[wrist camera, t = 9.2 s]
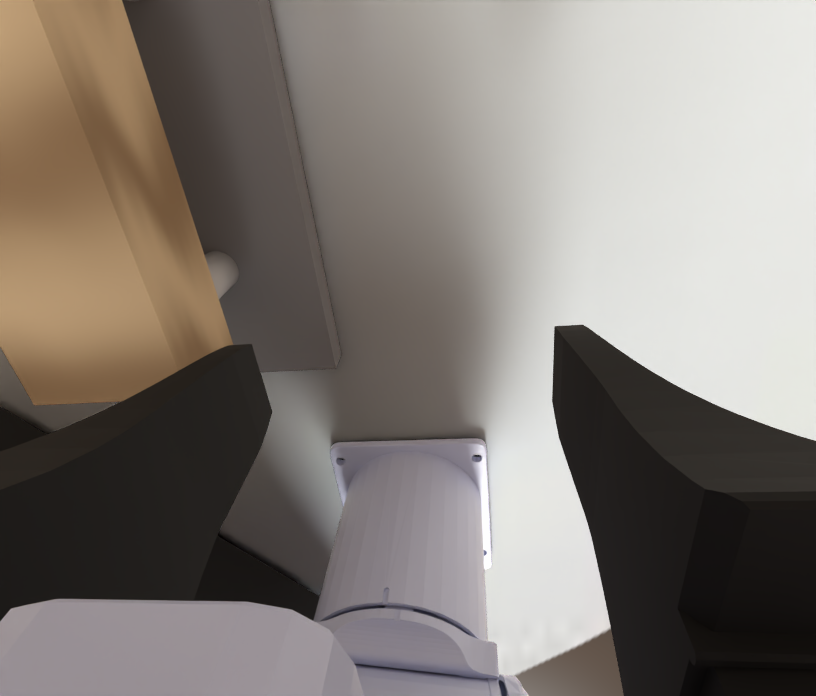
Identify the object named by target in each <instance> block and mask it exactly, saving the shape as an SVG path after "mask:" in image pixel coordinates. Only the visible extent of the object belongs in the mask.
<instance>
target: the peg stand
mask: <svg viewBox="0 0 816 696" xmlns="http://www.w3.org/2000/svg"><path fill="white" fill-rule="evenodd" d="M122 2H123V5H124V8H125V11H126V14H127V17H128V20H129V23H130V26H131V30H132V33H133V36H134V39H135V42H136V45H137V48H138V51H139V54H140V57H141V60H142V64H143V67H144V70H145V73H146V76H147V79H148V82H149V85H150V88H151V91H152V95H153V98H154V101H155V104H156V107H157V110H158V113H159V116H160V119H161V122H162V125H163V129H164V132H165V135H166V138H167V141H168V144H169V147H170V150H171V153H172V156H173V159H174V163H175V166H176V169H177V172H178V175H179V178H180V181H181V184H182V187H183V190H184V193H185V197H186V200H187V203H188V206H189V209H190V212H191V215H192V218H193V221H194V224H195V227H196V231H197V234H198V237H199V240H200V243H201V246H202V249H203V252H204V255H205V258H206V261H207V265H208V268H209V271H210V274H211V277H212V280H213V283H214V286H215V289H216V292H217V295H218V299H219V302H220V305H221V308H222V311H223V314H224V317H225V320H226V323H227V326H228V329H229V333H230V336H231V339H232V342H233V345H242V344H252V346H253V350H254V353H255V356H256V360H257V363H258V366H259V370H260V372H277V371H297V370H317V369H336V368H337V365H338V363H339V360H340V358H341V350H340V345H339V340H338V335H337V330H336V325H335V320H334V315H333V311H332V306H331V301H330V296H329V291H328V286H327V281H326V276H325V271H324V266H323V262H322V257H321V252H320V247H319V242H318V237H317V232H316V227H315V222H314V217H313V213H312V208H311V203H310V198H309V193H308V188H307V183H306V178H305V173H304V168H303V164H302V159H301V154H300V149H299V144H298V139H297V134H296V129H295V124H294V119H293V115H292V110H291V105H290V100H289V95H288V90H287V85H286V80H285V75H284V70H283V66H282V61H281V56H280V51H279V46H278V41H277V36H276V31H275V26H274V21H273V17H272V12H271V7H270V2H269V0H122Z"/></svg>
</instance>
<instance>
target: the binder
mask: <svg viewBox="0 0 816 696" xmlns="http://www.w3.org/2000/svg"><path fill="white" fill-rule="evenodd" d="M44 435H47V434H45V433H44V432H42V431H40V430H39V429H37V428H35V427H34V426H32V425H30V424H29V423H27V422H25V421H23V420H22V419H20V418H18V417H17V416H15V415H13V414H12V413H10V412H8V411H7V410H5V409H3V408H2V407H0V451H3V450H6V449H9V448H12V447H15V446H17V445H20V444H23V443H26V442H28V441H31V440H34V439H36V438H39V437H42V436H44ZM319 598H320V597H319V596H318V595H316V594H314V593H313V592H311V591H309V590H308V589H306V588H304V587H303V586H301V585H299V584H297V583H296V582H294V581H292V580H291V579H289V578H287V577H286V576H284V575H282V574H281V573H279V572H277V571H276V570H274V569H272V568H271V567H269V566H267V565H266V564H264V563H262V562H261V561H259V560H257V559H255V558H254V557H252V556H250V555H249V554H247V553H245V552H244V551H242V550H240V549H239V548H237V547H235V546H234V545H232V544H230V543H229V542H227V541H225V540H224V539H222V538H220V537H218V536H217V537H216V540H215V542H214V545H213V548H212V550H211V553H210V556H209V558H208V561H207V564H206V566H205V569H204V572H203V574H202V577H201V580H200V583H199V586H198V589H197V592H196V595H195V598H194V601H233V602H252V603H258V604H263V605H269V606H274V607H280V608H285V609H291V610H294V611H296V612H297V613H299V614H301V615H303V616H305V617H307V618H309V619H310V620H312V621H313V620H314V617H315V613H316V609H317V605H318V601H319Z"/></svg>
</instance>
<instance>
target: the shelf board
mask: <svg viewBox="0 0 816 696" xmlns="http://www.w3.org/2000/svg"><path fill="white" fill-rule="evenodd" d="M228 345H233V342H232V339H231V336H230V333H229V329H228V326H227V323H226V320H225V317H224V314H223V311H222V308H221V305H220V302H219V299H218V295H217V292H216V289H215V286H214V283H213V280H212V277H211V274H210V271H209V268H208V265H207V261H206V258H205V255H204V252H203V249H202V246H201V243H200V240H199V237H198V234H197V231H196V227H195V224H194V221H193V218H192V215H191V212H190V209H189V206H188V203H187V200H186V197H185V193H184V190H183V187H182V184H181V181H180V178H179V175H178V172H177V169H176V166H175V163H174V159H173V156H172V153H171V150H170V147H169V144H168V141H167V138H166V135H165V132H164V129H163V125H162V122H161V119H160V116H159V113H158V110H157V107H156V104H155V101H154V98H153V95H152V91H151V88H150V85H149V82H148V79H147V76H146V73H145V70H144V67H143V64H142V60H141V57H140V54H139V51H138V48H137V45H136V42H135V39H134V36H133V33H132V30H131V26H130V23H129V20H128V17H127V14H126V11H125V8H124V5H123V2H122V0H0V347H1V349H2V351H3V353H4V354H5V356H6V358H7V360H8V361H9V363H10V365H11V366H12V368H13V370H14V372H15V373H16V375H17V377H18V378H19V380H20V382H21V384H22V385H23V387H24V389H25V391H26V392H27V394H28V396H29V397H30V399H31V401H32V403H33V404H34V405H55V404H77V403H99V402H121V401H124V400H126V399H128V398H129V397H131V396H133V395H135V394H137V393H139V392H141V391H143V390H145V389H146V388H148V387H150V386H152V385H154V384H156V383H158V382H159V381H161V380H163V379H165V378H167V377H168V376H170V375H172V374H174V373H175V372H177V371H179V370H181V369H182V368H184V367H186V366H188V365H190V364H191V363H193V362H195V361H197V360H199V359H200V358H202V357H204V356H206V355H208V354H210V353H212V352H214V351H216V350H218V349H220V348H223V347H225V346H228Z"/></svg>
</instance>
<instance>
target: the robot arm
mask: <svg viewBox="0 0 816 696" xmlns="http://www.w3.org/2000/svg"><path fill="white" fill-rule="evenodd" d="M552 402H553V408H554V413H555V419H556V424H557V429H558V434H559V439H560V442H561V445H562V448H563V451H564V454H565V457H566V460H567V463H568V466H569V469H570V472H571V475H572V478H573V481H574V484H575V486H576V489H577V492H578V495H579V498H580V501H581V504H582V507H583V510H584V513H585V516H586V519H587V522H588V526H589V529H590V533H591V536H592V541H593V545H594V550H595V554H596V559H597V563H598V568H599V572H600V577H601V581H602V586H603V591H604V596H605V601H606V606H607V611H608V615H609V620H610V625H611V630H612V635H613V640H614V646H615V651H616V656H617V661H618V666H619V672H620V677H621V682H622V688H623V693H624V696H816V441H814V440H810V439H807V438H804V437H800V436H797V435H794V434H791V433H788V432H785V431H782V430H779V429H776V428H773V427H770V426H767V425H765V424H762V423H759V422H757V421H754V420H751V419H749V418H746V417H744V416H741V415H738V414H736V413H733V412H731V411H728V410H726V409H724V408H721V407H719V406H717V405H715V404H712V403H710V402H708V401H706V400H704V399H702V398H700V397H698V396H696V395H693V394H691V393H689V392H687V391H685V390H683V389H681V388H680V387H678V386H676V385H674V384H672V383H670V382H669V381H667V380H665V379H664V378H662V377H660V376H658V375H657V374H655V373H653V372H652V371H650V370H648V369H647V368H645V367H644V366H642V365H640V364H639V363H637V362H636V361H634V360H633V359H631V358H630V357H628V356H627V355H625V354H624V353H622V352H621V351H620V350H618V349H617V348H615V347H614V346H612V345H611V344H610V343H608V342H607V341H606V340H604V339H603V338H601V337H600V336H599V335H597V334H596V333H594V332H593V331H592V330H590V329H589V328H587V327H586V326H584V325H571V326H555V332H554V364H553V396H552ZM271 414H272V410H271V406H270V403H269V400H268V396H267V393H266V390H265V386H264V383H263V380H262V376H261V373H260V370H259V366H258V363H257V360H256V356H255V353H254V350H253V346H252V344H242V345H228V346H225V347H223V348H220V349H218V350H216V351H214V352H212V353H210V354H208V355H206V356H204V357H202V358H200V359H199V360H197V361H195V362H193V363H191V364H190V365H188V366H186V367H184V368H182V369H181V370H179V371H177V372H175V373H174V374H172V375H170V376H168V377H167V378H165V379H163V380H161V381H159V382H158V383H156V384H154V385H152V386H150V387H148V388H146V389H145V390H143V391H141V392H139V393H137V394H135V395H133V396H131V397H129V398H128V399H126V400H124V401H122V402H120V403H118V404H116V405H114V406H112V407H110V408H108V409H106V410H104V411H102V412H99V413H97V414H95V415H93V416H91V417H88V418H86V419H84V420H82V421H79V422H77V423H75V424H72V425H70V426H68V427H65V428H63V429H60V430H58V431H55V432H52V433H50V434H47V435H44V436H42V437H39V438H36V439H34V440H31V441H28V442H26V443H23V444H20V445H17V446H15V447H12V448H9V449H6V450H3V451H0V696H529V695H528V694H527V692H526V691H525V690H524V689H523V687H522V685H521V683H520V681H519V680H518V679H517V678H516V677H515V676H511V675H499V673H498V657H497V644H496V643H494V642H490V641H488V634H487V613H486V591H485V569H488V568H490V567H491V566H492V553H491V532H490V512H489V491H488V471H487V450H486V443H485V442H484V441H483V440H481V439H477V438H468V439H434V440H400V441H366V442H338V443H335V444H333V445H332V447H331V449H330V456H331V460H332V464H333V468H334V473H335V477H336V481H337V485H338V489H339V493H340V497H341V501H342V505H343V511H342V515H341V519H340V522H339V526H338V530H337V534H336V537H335V541H334V545H333V549H332V552H331V556H330V560H329V564H328V568H327V571H326V575H325V579H324V583H323V586H322V590H321V594H320V598H319V601H318V605H317V609H316V613H315V617H314V620H313V621H312V620H310V619H309V618H307V617H305V616H303V615H301V614H299V613H297V612H296V611H294V610H291V609H285V608H280V607H274V606H269V605H263V604H258V603H252V602H233V601H194V598H195V595H196V592H197V589H198V586H199V583H200V580H201V577H202V574H203V572H204V569H205V566H206V564H207V561H208V558H209V556H210V553H211V550H212V548H213V545H214V542H215V540H216V537H217V535H218V533H219V531H220V528H221V526H222V524H223V522H224V520H225V518H226V516H227V514H228V512H229V510H230V508H231V506H232V504H233V502H234V500H235V498H236V496H237V494H238V492H239V490H240V488H241V486H242V484H243V482H244V480H245V478H246V476H247V474H248V472H249V470H250V468H251V466H252V464H253V462H254V460H255V458H256V456H257V454H258V452H259V450H260V448H261V446H262V443H263V440H264V437H265V434H266V431H267V428H268V424H269V421H270V418H271ZM476 454H478V455H480V457H474V456H473V455H476ZM339 458H343V459H345V460H340V459H339Z"/></svg>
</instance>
